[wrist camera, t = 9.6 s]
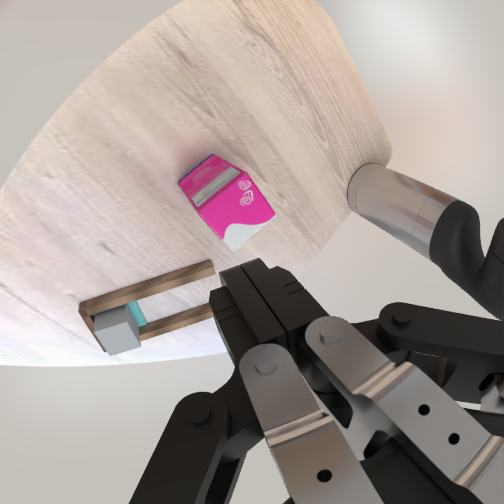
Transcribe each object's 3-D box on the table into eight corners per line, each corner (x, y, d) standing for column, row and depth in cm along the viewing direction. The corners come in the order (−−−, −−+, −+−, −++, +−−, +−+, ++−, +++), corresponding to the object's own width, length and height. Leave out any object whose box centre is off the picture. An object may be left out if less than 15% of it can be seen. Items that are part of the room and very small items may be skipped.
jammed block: (125, 301, 38) (126, 321, 35) (138, 325, 41) (140, 346, 37) (95, 311, 37) (93, 332, 33) (109, 334, 40) (110, 355, 36)
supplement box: (239, 185, 37) (279, 217, 28) (203, 214, 37) (231, 256, 28) (213, 151, 34) (247, 171, 25) (175, 182, 34) (194, 215, 25)
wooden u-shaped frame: (210, 259, 41) (213, 266, 39) (221, 304, 46) (225, 312, 44) (79, 302, 36) (78, 311, 34) (104, 343, 41) (104, 352, 39)
